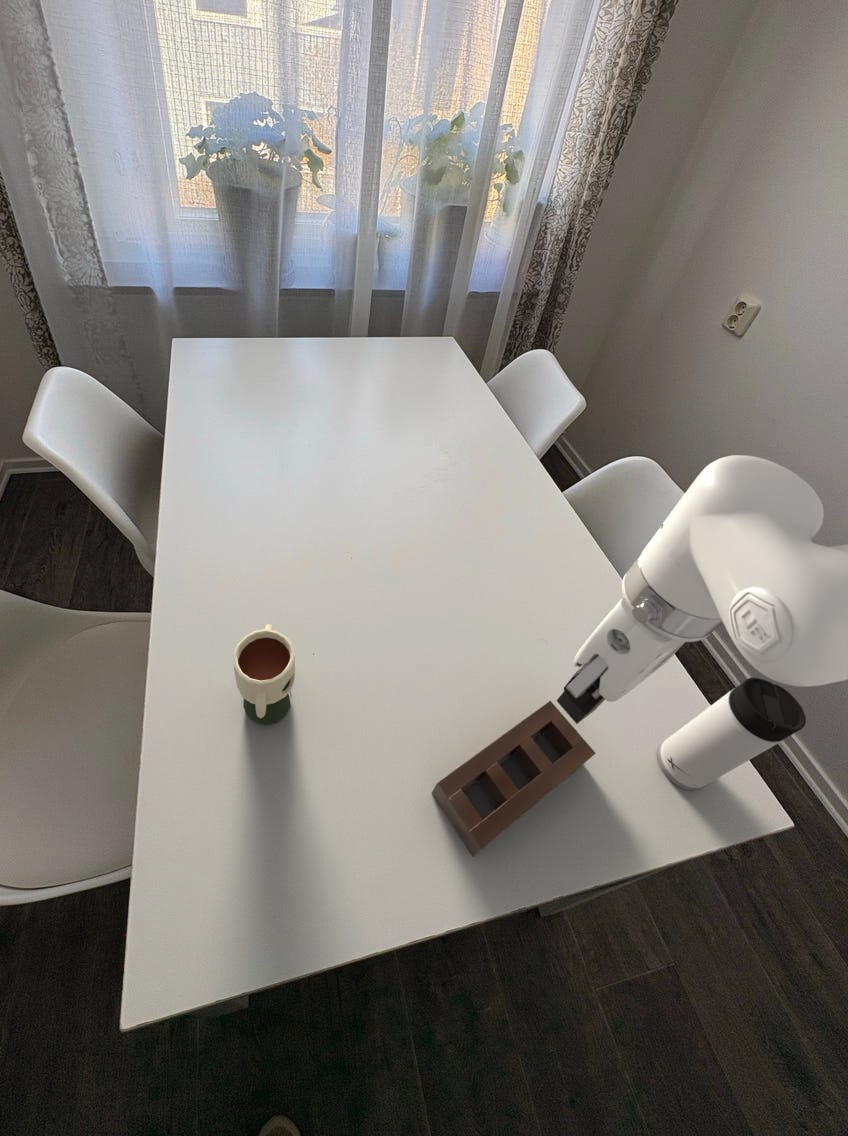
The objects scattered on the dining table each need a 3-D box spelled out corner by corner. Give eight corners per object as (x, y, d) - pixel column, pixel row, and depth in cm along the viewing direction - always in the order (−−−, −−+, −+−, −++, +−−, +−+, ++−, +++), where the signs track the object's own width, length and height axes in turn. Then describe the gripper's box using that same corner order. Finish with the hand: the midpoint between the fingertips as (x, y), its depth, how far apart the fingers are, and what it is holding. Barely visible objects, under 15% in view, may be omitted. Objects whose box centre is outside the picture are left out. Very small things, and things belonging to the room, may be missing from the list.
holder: (583, 764, 69) (596, 753, 66) (472, 857, 60) (481, 849, 58) (540, 712, 73) (550, 700, 71) (431, 792, 65) (437, 782, 62)
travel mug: (657, 782, 68) (752, 720, 54) (654, 733, 73) (741, 664, 59) (708, 801, 67) (818, 743, 53) (702, 750, 72) (802, 684, 58)
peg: (594, 710, 58) (631, 671, 52) (576, 724, 57) (612, 686, 51) (574, 687, 60) (607, 647, 54) (556, 700, 59) (588, 661, 52)
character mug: (291, 745, 67) (291, 701, 58) (234, 745, 66) (225, 700, 57) (297, 665, 75) (298, 615, 66) (246, 664, 74) (239, 613, 65)
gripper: (654, 676, 37) (561, 766, 50) (770, 585, 45) (663, 684, 57) (574, 598, 42) (507, 699, 54) (692, 526, 49) (608, 631, 62)
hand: (588, 691), depth 56 cm, fingers closed on peg, 3 cm apart
